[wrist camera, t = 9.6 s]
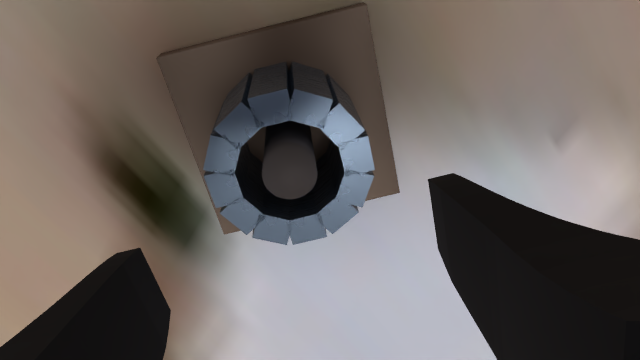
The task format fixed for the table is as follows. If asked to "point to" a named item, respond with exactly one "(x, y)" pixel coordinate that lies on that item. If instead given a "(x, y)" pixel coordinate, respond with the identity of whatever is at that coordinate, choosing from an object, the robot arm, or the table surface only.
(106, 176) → the table surface
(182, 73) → the shaft base
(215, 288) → the table surface
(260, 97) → the collar
